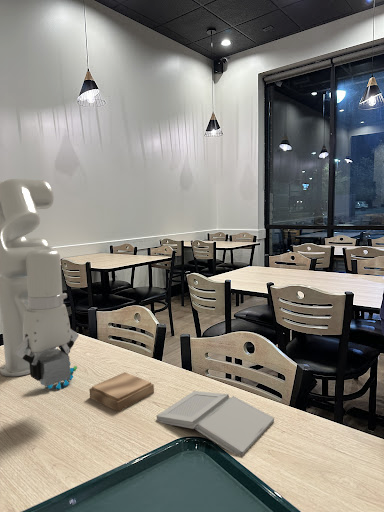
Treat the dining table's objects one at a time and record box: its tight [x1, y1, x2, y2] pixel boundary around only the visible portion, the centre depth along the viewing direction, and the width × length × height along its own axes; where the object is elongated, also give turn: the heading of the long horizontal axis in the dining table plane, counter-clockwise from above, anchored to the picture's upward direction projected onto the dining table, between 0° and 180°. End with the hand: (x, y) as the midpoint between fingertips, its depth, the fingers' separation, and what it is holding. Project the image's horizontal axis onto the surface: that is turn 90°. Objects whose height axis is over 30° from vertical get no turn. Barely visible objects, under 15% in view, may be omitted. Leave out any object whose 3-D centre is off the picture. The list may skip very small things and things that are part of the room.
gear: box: [40, 362, 78, 390], centre depth 103 cm, size 11×6×10 cm
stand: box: [88, 372, 155, 413], centre depth 94 cm, size 12×12×3 cm
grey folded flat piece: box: [156, 390, 275, 456], centre depth 81 cm, size 23×15×4 cm, turn 52°
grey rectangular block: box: [38, 347, 71, 388], centre depth 86 cm, size 9×6×6 cm, turn 44°
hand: (50, 372), depth 86 cm, fingers closed on grey rectangular block, 6 cm apart
